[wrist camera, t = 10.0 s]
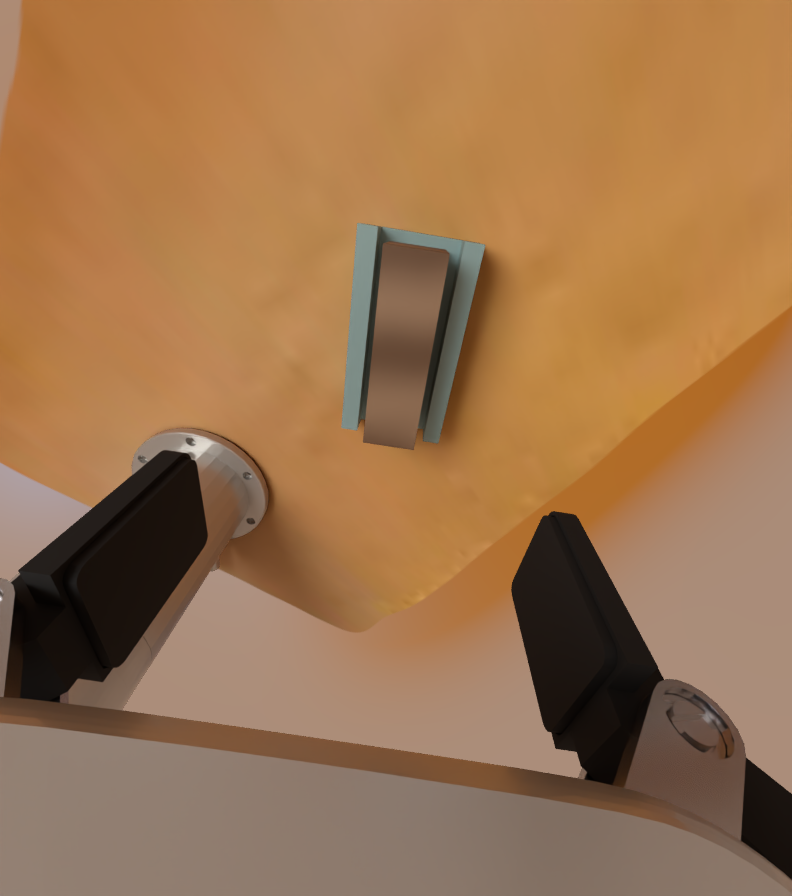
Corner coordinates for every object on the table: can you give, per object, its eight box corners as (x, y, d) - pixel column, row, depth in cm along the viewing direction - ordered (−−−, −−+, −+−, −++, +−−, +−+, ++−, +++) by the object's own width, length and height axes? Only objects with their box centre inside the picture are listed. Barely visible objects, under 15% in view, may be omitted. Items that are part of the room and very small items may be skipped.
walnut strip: (415, 417, 30) (413, 450, 25) (372, 411, 29) (363, 442, 25) (445, 249, 23) (449, 253, 19) (390, 241, 23) (382, 243, 19)
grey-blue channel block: (437, 425, 31) (438, 443, 28) (348, 411, 31) (341, 427, 28) (479, 243, 24) (485, 244, 21) (364, 223, 24) (357, 223, 21)
